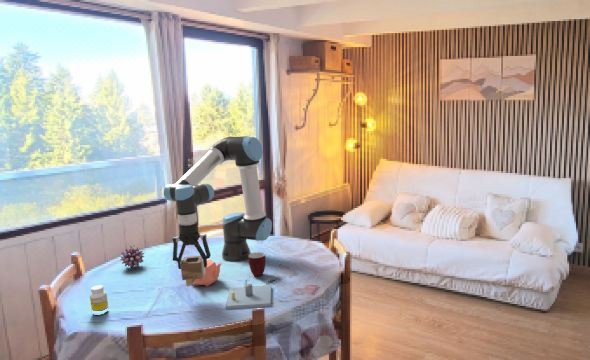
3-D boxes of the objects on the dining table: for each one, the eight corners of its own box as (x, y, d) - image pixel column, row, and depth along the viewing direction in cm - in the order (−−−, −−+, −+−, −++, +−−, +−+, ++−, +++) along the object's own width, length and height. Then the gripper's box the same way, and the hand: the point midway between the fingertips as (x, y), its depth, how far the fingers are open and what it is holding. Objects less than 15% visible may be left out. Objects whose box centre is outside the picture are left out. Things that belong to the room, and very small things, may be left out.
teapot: (225, 284, 205) (223, 261, 203) (193, 292, 199) (191, 268, 197) (215, 274, 218) (213, 252, 215) (186, 280, 211) (184, 258, 209)
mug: (269, 278, 209) (268, 258, 207) (252, 281, 206) (251, 261, 204) (264, 271, 218) (263, 251, 217) (248, 273, 216) (246, 253, 214)
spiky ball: (145, 262, 239) (143, 240, 237) (145, 269, 228) (143, 247, 226) (122, 265, 236) (119, 243, 234) (121, 273, 225) (118, 250, 222)
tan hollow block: (186, 272, 193) (184, 257, 192) (204, 271, 194) (203, 255, 192) (179, 286, 180) (177, 269, 178) (199, 284, 180) (197, 268, 178)
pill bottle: (95, 310, 186) (91, 284, 184) (110, 308, 186) (107, 283, 184) (90, 317, 180) (86, 291, 178) (105, 315, 180) (102, 289, 178)
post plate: (230, 290, 198) (229, 278, 197) (271, 287, 199) (270, 275, 198) (225, 308, 180) (224, 296, 180) (270, 306, 181) (269, 293, 180)
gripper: (160, 227, 181) (166, 280, 185) (212, 223, 182) (217, 276, 186) (164, 222, 188) (170, 273, 193) (214, 218, 189) (219, 269, 193)
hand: (193, 274), depth 189 cm, fingers closed on tan hollow block, 8 cm apart
